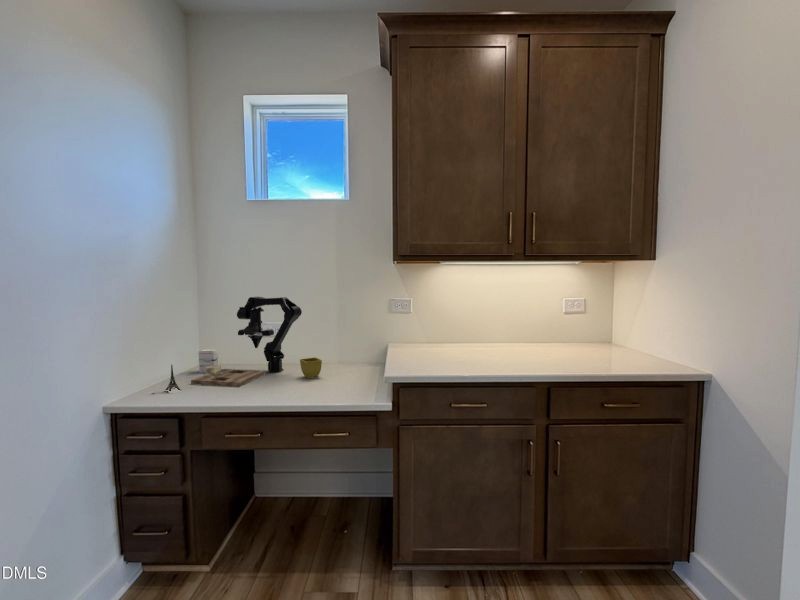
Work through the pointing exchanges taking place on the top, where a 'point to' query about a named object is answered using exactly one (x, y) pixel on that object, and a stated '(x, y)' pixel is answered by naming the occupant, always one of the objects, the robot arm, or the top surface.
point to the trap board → (229, 378)
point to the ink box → (207, 359)
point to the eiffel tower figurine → (171, 381)
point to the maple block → (213, 370)
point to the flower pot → (311, 367)
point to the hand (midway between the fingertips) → (256, 348)
